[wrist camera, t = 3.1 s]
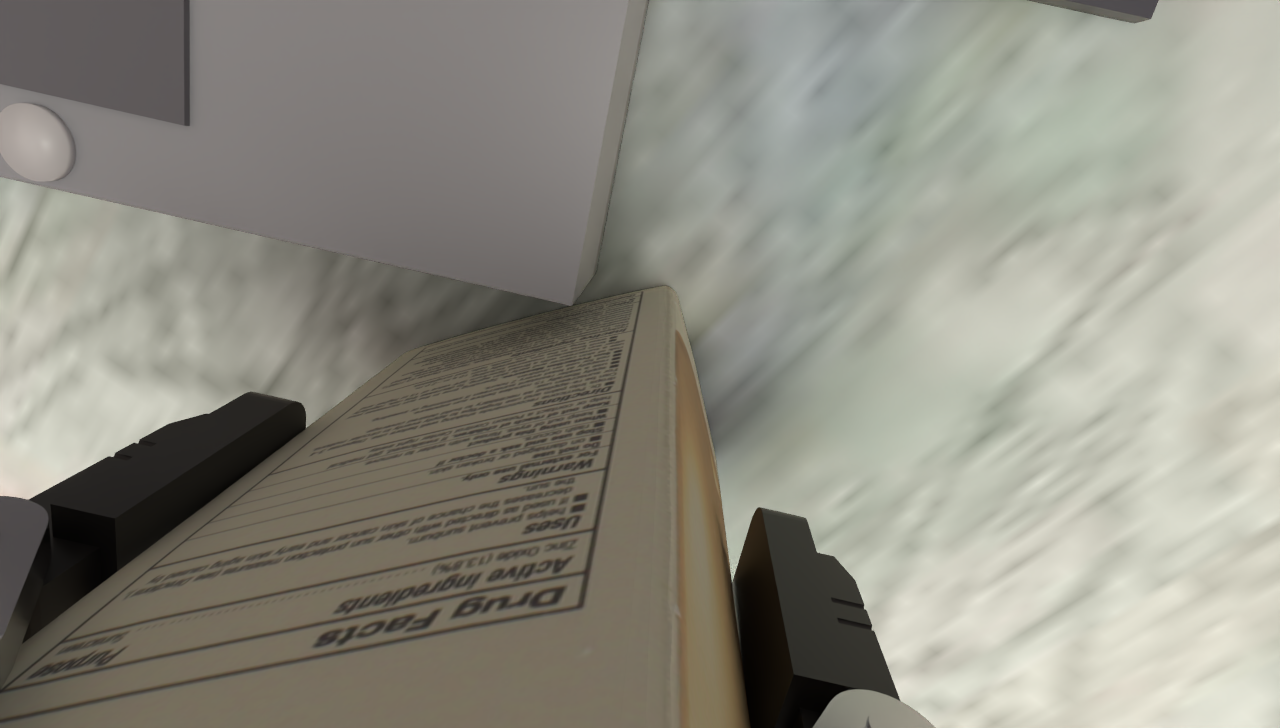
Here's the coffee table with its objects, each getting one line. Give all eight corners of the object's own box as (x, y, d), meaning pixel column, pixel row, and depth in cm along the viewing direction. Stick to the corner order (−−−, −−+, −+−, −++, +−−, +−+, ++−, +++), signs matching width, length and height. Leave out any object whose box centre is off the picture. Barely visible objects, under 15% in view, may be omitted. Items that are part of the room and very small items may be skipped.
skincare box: (468, 514, 16) (-98, 1462, 5) (403, 344, 15) (-599, 1052, 3) (734, 460, 15) (871, 1483, 4) (689, 274, 14) (679, 920, 2)
